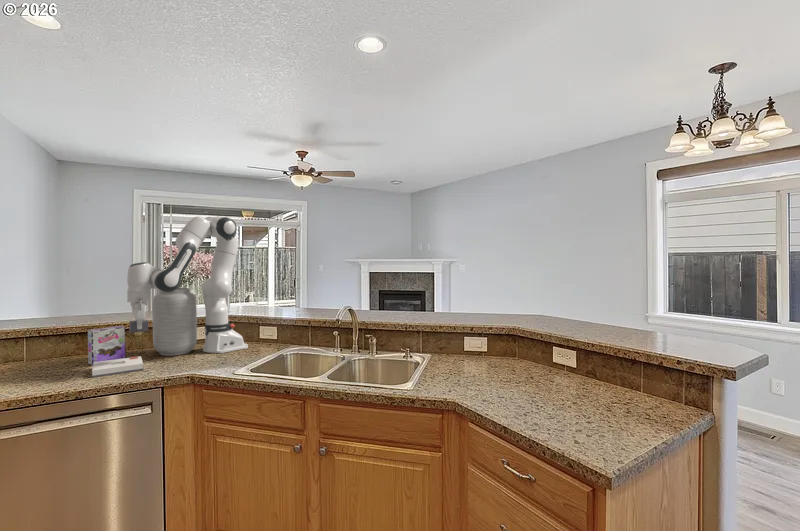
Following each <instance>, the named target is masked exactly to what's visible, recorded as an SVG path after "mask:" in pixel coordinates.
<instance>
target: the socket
mask: <svg viewBox="0 0 800 531" xmlns="http://www.w3.org/2000/svg"><path fill="white" fill-rule="evenodd" d="M140 371H144V362H143V359H142V356H138V355H137V356H130V357H126V358H123V359H116V360H108V361H100V362H93V366H92V369H91V374H92V375H91V377H92V379H93V378H100V377H106V376H113V375H120V374H127V373H134V372H140Z"/></svg>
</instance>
